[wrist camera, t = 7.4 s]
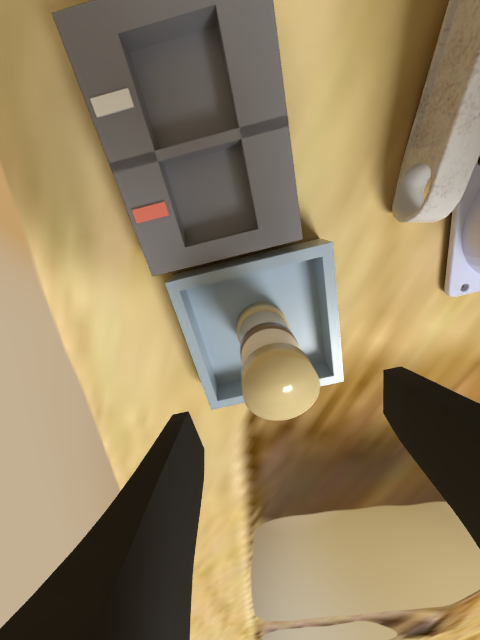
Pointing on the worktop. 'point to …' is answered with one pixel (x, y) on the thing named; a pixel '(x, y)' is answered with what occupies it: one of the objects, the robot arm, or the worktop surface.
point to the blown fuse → (273, 365)
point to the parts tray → (252, 287)
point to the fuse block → (189, 122)
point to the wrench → (444, 122)
